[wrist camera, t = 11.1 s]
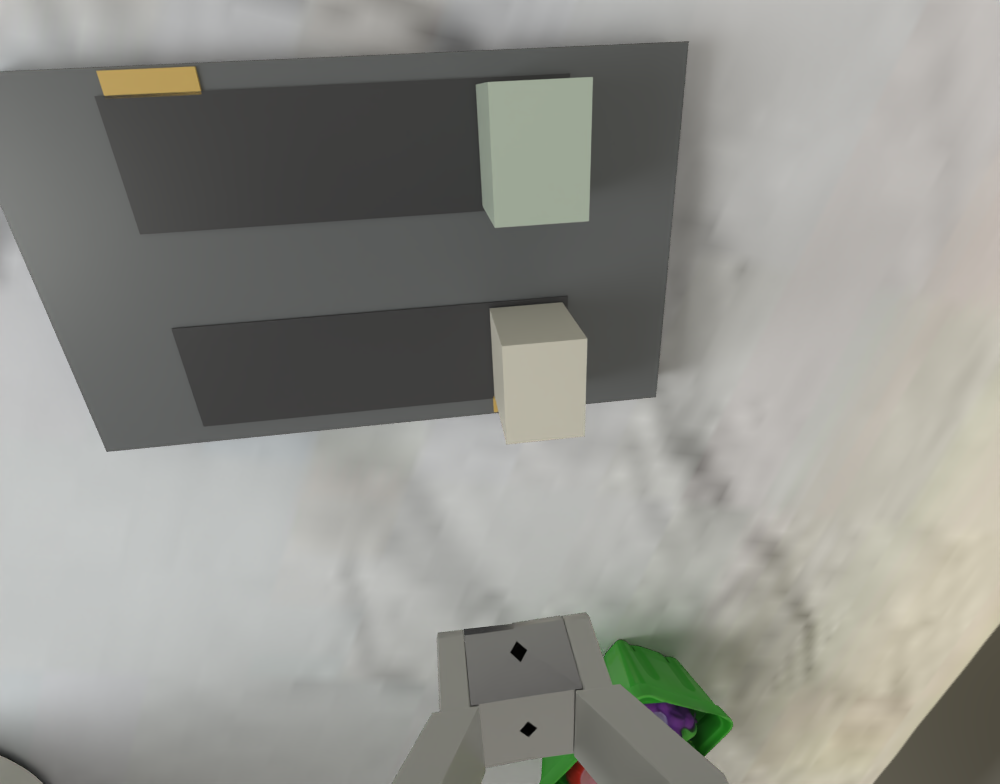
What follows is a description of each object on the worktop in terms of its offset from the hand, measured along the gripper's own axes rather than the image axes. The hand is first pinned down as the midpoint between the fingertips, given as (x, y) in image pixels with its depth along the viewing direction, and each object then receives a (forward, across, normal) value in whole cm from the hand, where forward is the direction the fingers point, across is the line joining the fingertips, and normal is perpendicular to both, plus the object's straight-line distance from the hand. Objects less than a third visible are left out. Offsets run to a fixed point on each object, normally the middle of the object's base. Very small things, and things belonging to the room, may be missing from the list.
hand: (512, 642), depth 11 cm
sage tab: (+14, +3, +8) cm, 17 cm away
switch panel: (+17, -3, +4) cm, 17 cm away
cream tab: (+14, +3, 0) cm, 15 cm away
